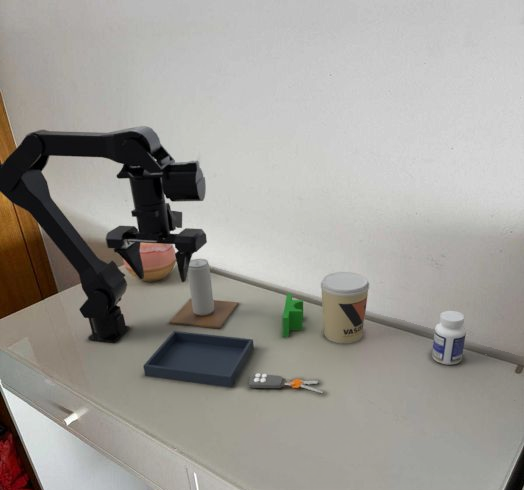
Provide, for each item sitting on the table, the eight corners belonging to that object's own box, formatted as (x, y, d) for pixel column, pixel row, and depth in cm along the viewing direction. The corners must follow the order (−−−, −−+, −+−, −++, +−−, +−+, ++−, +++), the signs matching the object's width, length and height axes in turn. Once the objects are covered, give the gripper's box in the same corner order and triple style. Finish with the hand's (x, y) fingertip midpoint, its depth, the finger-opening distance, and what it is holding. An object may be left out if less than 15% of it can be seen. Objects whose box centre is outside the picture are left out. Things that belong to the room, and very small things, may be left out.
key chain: (248, 390, 87) (247, 383, 87) (252, 377, 90) (251, 371, 90) (322, 394, 85) (322, 387, 84) (324, 381, 88) (324, 374, 87)
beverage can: (192, 317, 111) (185, 267, 105) (193, 307, 115) (187, 259, 109) (214, 315, 111) (208, 265, 105) (214, 306, 115) (209, 257, 109)
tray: (145, 375, 93) (143, 365, 92) (175, 340, 104) (173, 330, 103) (231, 387, 88) (230, 377, 87) (253, 349, 99) (253, 339, 98)
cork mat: (169, 323, 110) (169, 321, 110) (191, 300, 120) (191, 298, 120) (220, 328, 107) (219, 326, 107) (238, 304, 117) (238, 302, 116)
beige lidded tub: (344, 351, 97) (346, 295, 91) (310, 333, 103) (310, 280, 97) (375, 334, 102) (379, 280, 96) (341, 318, 108) (343, 267, 102)
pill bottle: (460, 351, 94) (467, 310, 90) (462, 366, 90) (469, 324, 85) (431, 349, 96) (436, 307, 91) (431, 363, 91) (437, 321, 87)
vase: (165, 263, 142) (155, 201, 133) (187, 278, 132) (178, 212, 123) (119, 276, 135) (106, 212, 126) (139, 292, 125) (125, 224, 116)
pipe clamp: (301, 337, 102) (301, 318, 100) (283, 337, 103) (282, 318, 100) (304, 311, 112) (303, 293, 109) (287, 311, 112) (286, 293, 110)
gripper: (212, 191, 95) (220, 267, 103) (126, 189, 100) (140, 262, 108) (189, 207, 86) (200, 289, 94) (95, 205, 91) (113, 283, 99)
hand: (162, 279), depth 99 cm, fingers open, 9 cm apart
